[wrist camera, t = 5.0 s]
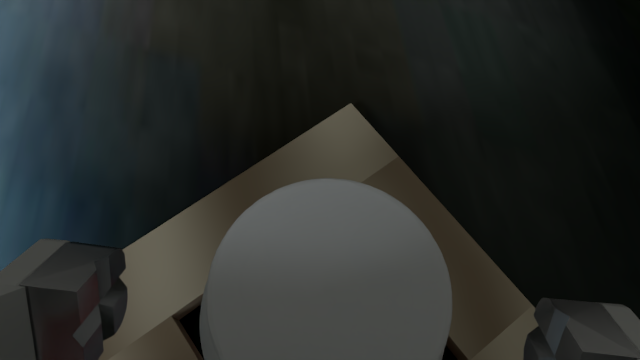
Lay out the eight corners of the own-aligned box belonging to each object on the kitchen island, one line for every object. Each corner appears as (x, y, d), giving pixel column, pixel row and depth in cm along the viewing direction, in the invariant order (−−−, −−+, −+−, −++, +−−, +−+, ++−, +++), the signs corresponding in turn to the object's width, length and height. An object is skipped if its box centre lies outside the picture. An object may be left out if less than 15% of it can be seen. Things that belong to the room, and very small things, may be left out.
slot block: (270, 686, 13) (267, 709, 12) (63, 302, 16) (49, 297, 15) (583, 381, 16) (600, 380, 15) (349, 116, 19) (350, 102, 18)
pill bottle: (207, 318, 16) (103, 240, 8) (337, 233, 17) (361, 92, 9) (294, 471, 14) (275, 569, 6) (432, 365, 16) (562, 334, 8)
